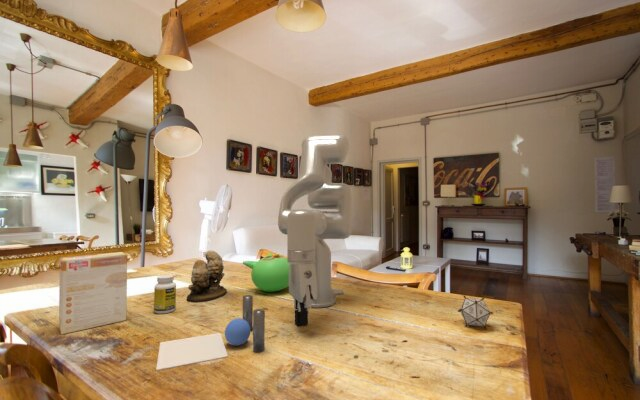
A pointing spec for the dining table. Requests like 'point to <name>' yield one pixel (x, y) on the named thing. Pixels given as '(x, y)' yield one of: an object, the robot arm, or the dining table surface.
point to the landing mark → (190, 351)
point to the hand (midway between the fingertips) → (301, 325)
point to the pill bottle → (165, 294)
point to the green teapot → (270, 272)
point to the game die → (475, 312)
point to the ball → (237, 332)
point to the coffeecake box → (92, 291)
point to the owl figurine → (207, 279)
